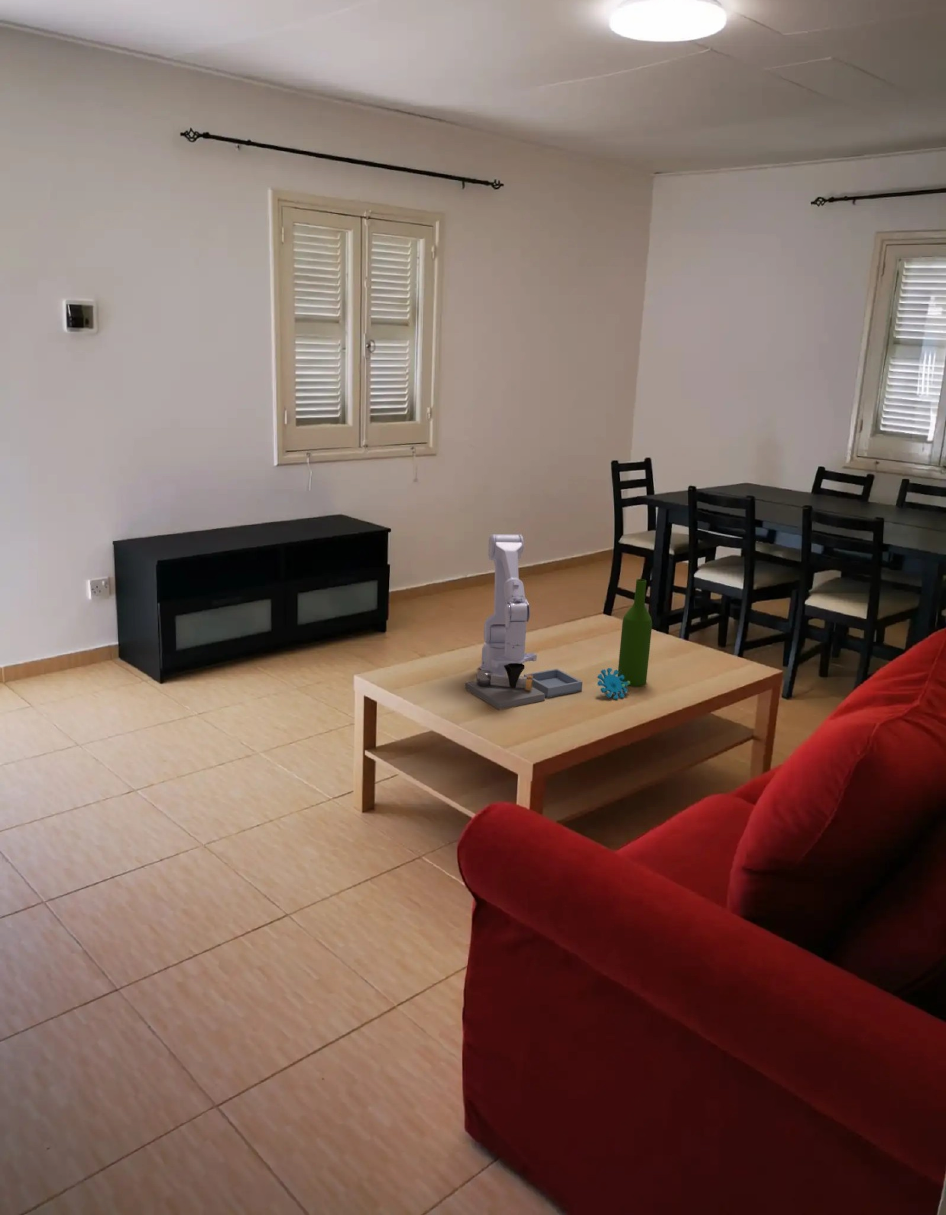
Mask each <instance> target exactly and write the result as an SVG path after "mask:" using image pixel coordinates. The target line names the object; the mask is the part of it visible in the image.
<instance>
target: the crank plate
mask: <svg viewBox="0 0 946 1215" xmlns="http://www.w3.org/2000/svg"><path fill="white" fill-rule="evenodd" d="M465 689H466V690H467V691H469V692H470V693H472V694H474V695H475V696H476V697H478V698H480V699H481V700H483V701H484V702H485V703H487V704H489V705H491V706H492V707H494V708H495V709H497V710H505V709H508V708H514V707H519V706H523V705H529V704H533V703H539V702H545V700H546V697H545V694H544V693H542V692H541V691H539V690H537V689H535V688H534V687H532V688H531V691H530V690H525V689H526V688H519V687H516V688H512V687H511V688H510V687H508V686H498V685H490V686H480V685H478V684H477V679H475V680H470V681H466V682H465Z"/></svg>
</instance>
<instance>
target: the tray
mask: <svg viewBox="0 0 946 1215" xmlns="http://www.w3.org/2000/svg"><path fill="white" fill-rule="evenodd" d="M527 675H533V683H532V687H534V688H535V689H537V690H539V691H541V692H542V693H544V694H545V698H547V699H549V698H554V697H559V695H560V696H563V695H569V694H574V693H575V694H576V693H579V691H580V692H582V691H583V681H582V680H580V679H578V678H576V677H574V676H572V675H570V674H568V673H567V672H564V671H562V670H561V669H559V668H553V669H547V670H543V671H542V670H541V671H538V672H532V673H531V672H530V673H526V674H523V677H527Z"/></svg>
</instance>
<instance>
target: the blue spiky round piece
mask: <svg viewBox="0 0 946 1215" xmlns="http://www.w3.org/2000/svg"><path fill="white" fill-rule="evenodd" d="M612 671H613V669H612V668H611V667H608V668H607V669H601V671H600V673H599V674H598V676H597V677H596V678H597V679H599V680H598V681H597V686H600V687H601V686H602V687H601V688H600V692H601V693H606V692H607V693H606V694H605V696H606V697H607V698H608V699H610V698H611V697H612V695H613V694H614V695H613V698H612V699H613V700H615V699H617V700H619V698H620V699H622V698H625V694H626V693H627V692H628V691H629V689H627V687H629V686H628V685H629V684H630V681H627V682H622V681H621V680H623V679H624V676H623V675H621V676H619V677H617V676H618V673H619V672H618V669H615V670H614V671H613V672H612ZM611 672H612V673H613V674H612V673H611ZM606 673H607V674H606ZM620 679H621V680H620Z"/></svg>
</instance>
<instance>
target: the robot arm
mask: <svg viewBox="0 0 946 1215" xmlns="http://www.w3.org/2000/svg"><path fill="white" fill-rule="evenodd" d="M524 543H525V542H524V537H523V535H522V534H521V533H519V534H502V533H501V534H498V533H497V534H494V533H491V535H489V538H488V559H489V560H491V561H493V563H494V595H493V596H494V599H493V600H494V601H493V613H492V614H490V615H489V616H488V617H487V618H486V619H485V620H484V626H483V627H484V628H483V641H484V644H483V646H482V648H481V662H480V663H481V665H479V666H478V668H479V669H480V670H489V671H491V672H492V674H502V675H506V672H507V675H508V678H509V685H510V687H512V688H516V684H517V681H518V678H519V676H521V674H522V672H523V671H524V670H525V663H526V662H527V663H528V662H536V661H537V658H538V655H537V654H536V653H534V652H529V653H528V652H527V653H526V652H525V651H526V636H527V635H526V634H527V623H528V622H529V620H530V614H531V610H530V608H531V607H530V604H529V602H528V599H527V598H526V594H525V593H526V592H525V586H524V582H523V581H522V580H521V579H520V577H519V575H520V574H519V559H521V558H522V557H521V556H522V554H523V553H524V548H525V544H524Z"/></svg>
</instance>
